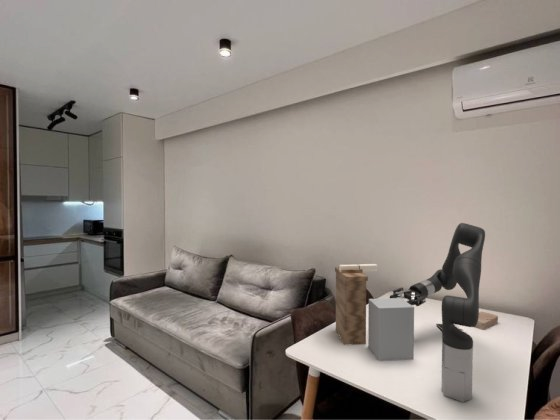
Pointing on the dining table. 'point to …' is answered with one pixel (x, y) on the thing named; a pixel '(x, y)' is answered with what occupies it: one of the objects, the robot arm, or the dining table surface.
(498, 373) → the dining table surface
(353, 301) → the walnut shelf
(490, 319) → the brick
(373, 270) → the domino bar
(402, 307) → the grey step block
